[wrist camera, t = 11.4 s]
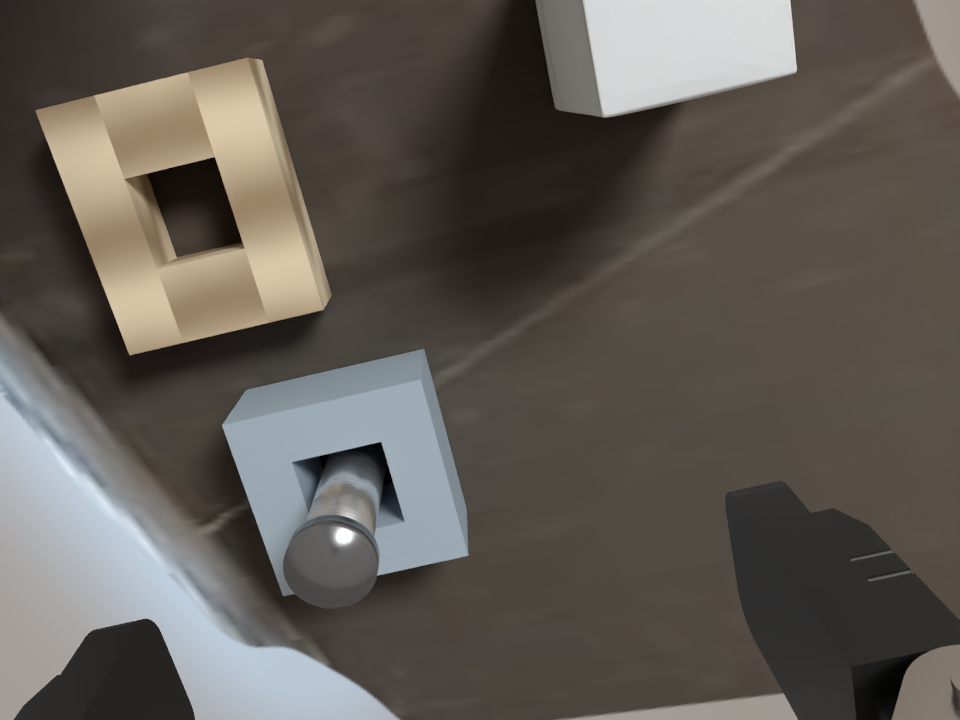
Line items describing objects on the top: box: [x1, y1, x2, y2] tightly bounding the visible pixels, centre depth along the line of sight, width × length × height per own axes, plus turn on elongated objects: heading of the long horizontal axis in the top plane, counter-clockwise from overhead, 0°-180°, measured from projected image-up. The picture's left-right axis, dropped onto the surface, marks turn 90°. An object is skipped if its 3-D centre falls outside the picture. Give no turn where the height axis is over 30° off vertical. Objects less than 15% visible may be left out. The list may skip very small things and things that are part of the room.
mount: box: [35, 58, 332, 355], centre depth 41 cm, size 12×10×3 cm
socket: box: [222, 349, 468, 596], centre depth 44 cm, size 10×10×5 cm
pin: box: [283, 442, 387, 609], centre depth 41 cm, size 4×4×12 cm
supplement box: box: [535, 0, 797, 118], centre depth 34 cm, size 7×7×13 cm
